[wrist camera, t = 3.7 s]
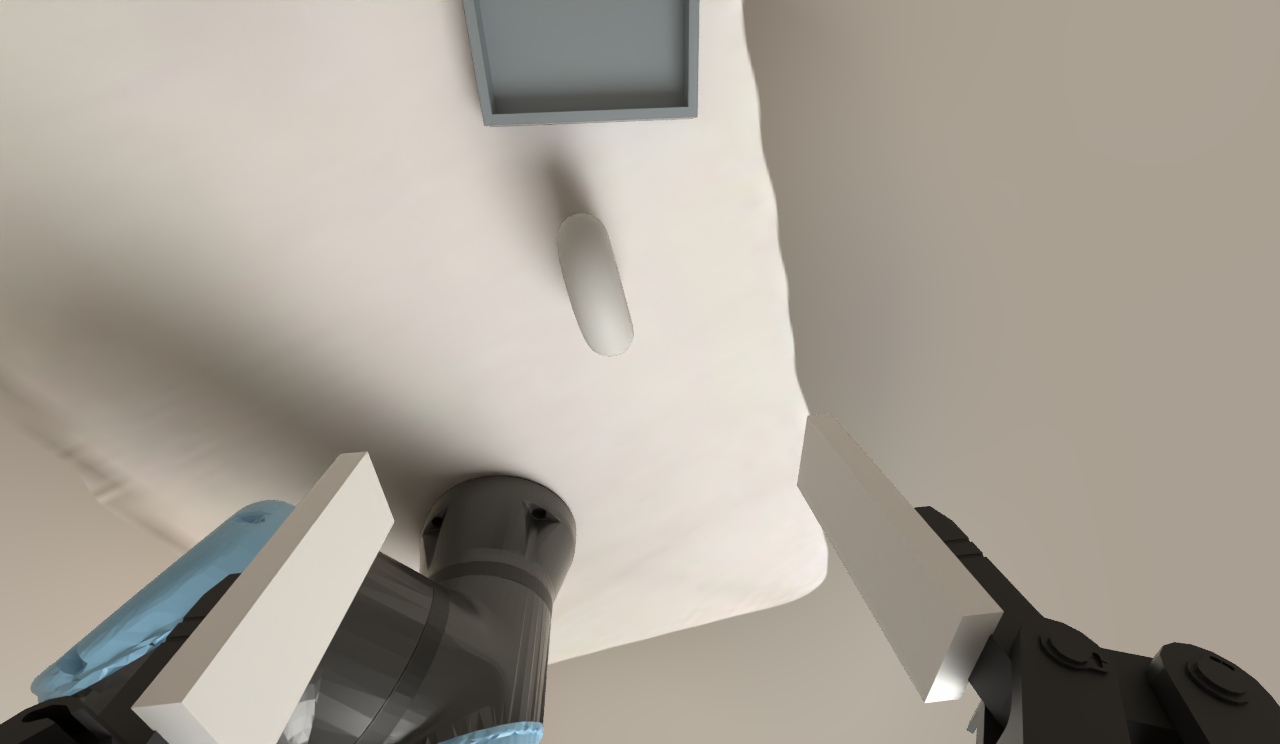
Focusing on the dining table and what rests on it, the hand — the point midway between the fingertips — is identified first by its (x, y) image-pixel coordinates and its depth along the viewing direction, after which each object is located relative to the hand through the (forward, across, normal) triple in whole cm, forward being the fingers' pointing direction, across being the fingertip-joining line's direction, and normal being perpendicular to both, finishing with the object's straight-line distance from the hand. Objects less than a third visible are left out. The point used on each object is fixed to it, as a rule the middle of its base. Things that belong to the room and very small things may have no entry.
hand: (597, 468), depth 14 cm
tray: (+25, 0, -17) cm, 30 cm away
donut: (+25, 0, 0) cm, 25 cm away
